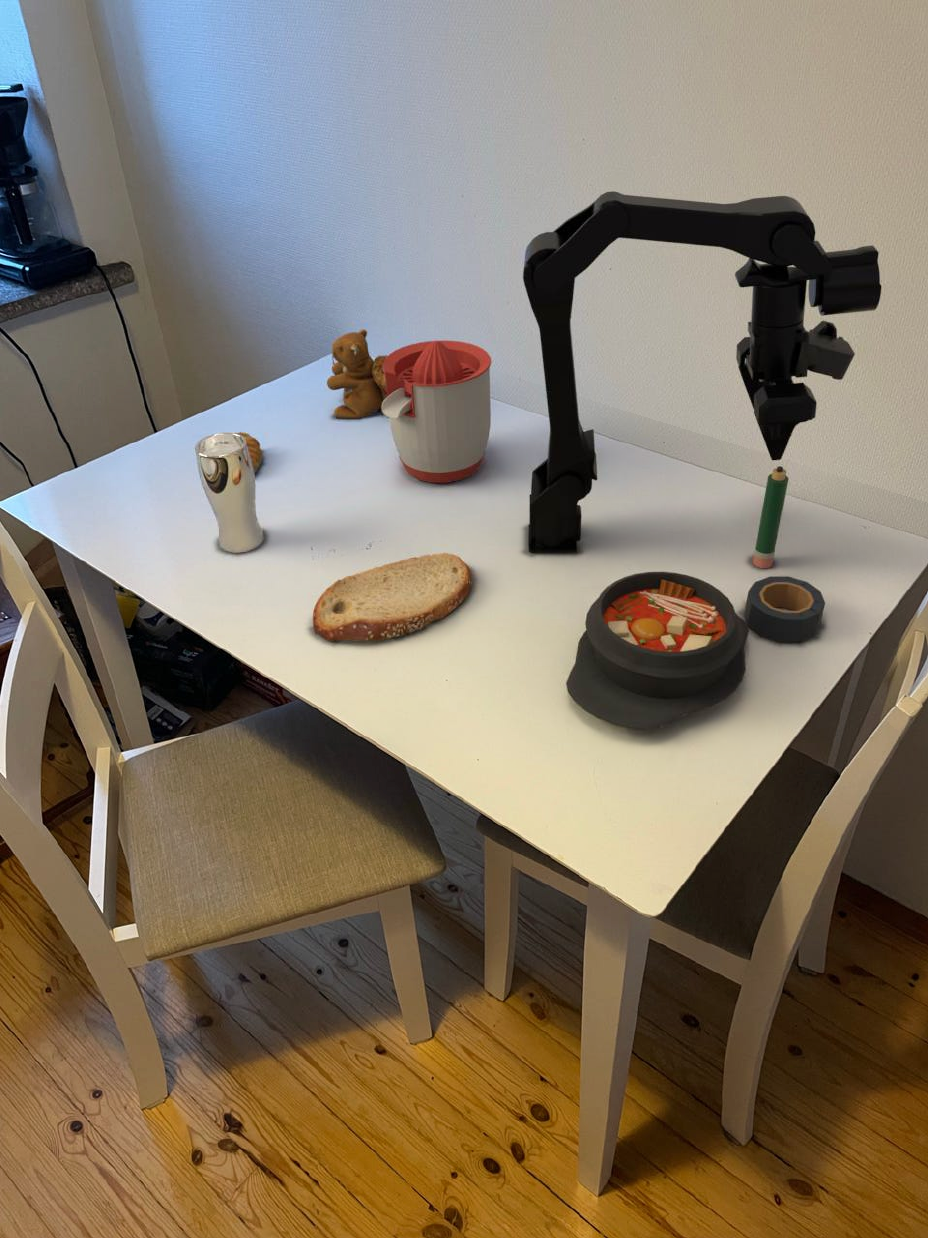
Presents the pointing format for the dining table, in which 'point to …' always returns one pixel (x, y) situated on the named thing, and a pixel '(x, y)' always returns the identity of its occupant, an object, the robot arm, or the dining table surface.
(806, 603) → the tape roll
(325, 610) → the slice of bread
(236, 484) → the beer glass
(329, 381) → the stuffed squirrel
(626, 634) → the casserole
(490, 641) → the dining table surface
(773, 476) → the pencil
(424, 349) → the citrus juicer
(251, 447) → the pastry
